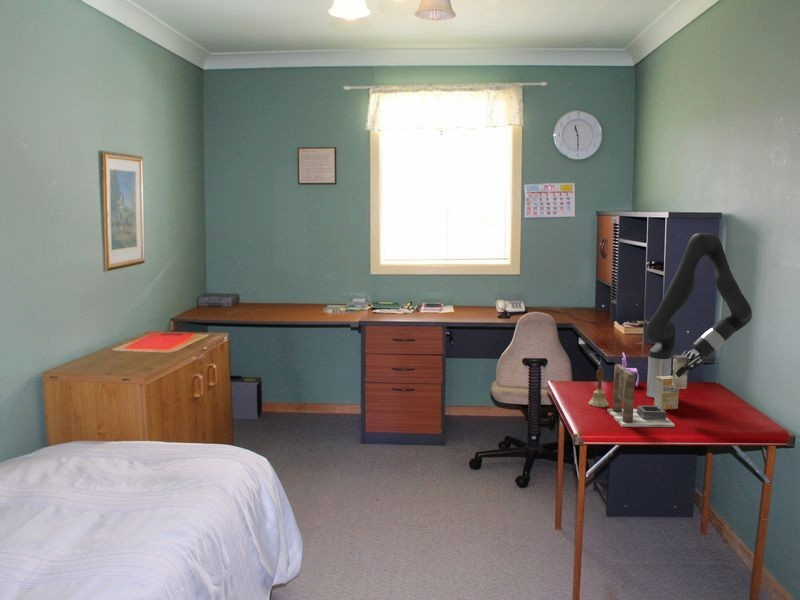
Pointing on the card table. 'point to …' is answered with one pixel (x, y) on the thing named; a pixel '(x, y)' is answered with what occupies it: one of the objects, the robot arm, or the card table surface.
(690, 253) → the robot arm
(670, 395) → the supplement box
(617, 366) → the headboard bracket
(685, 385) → the rail post
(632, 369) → the toy chair
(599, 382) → the hand bell
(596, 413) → the card table surface
